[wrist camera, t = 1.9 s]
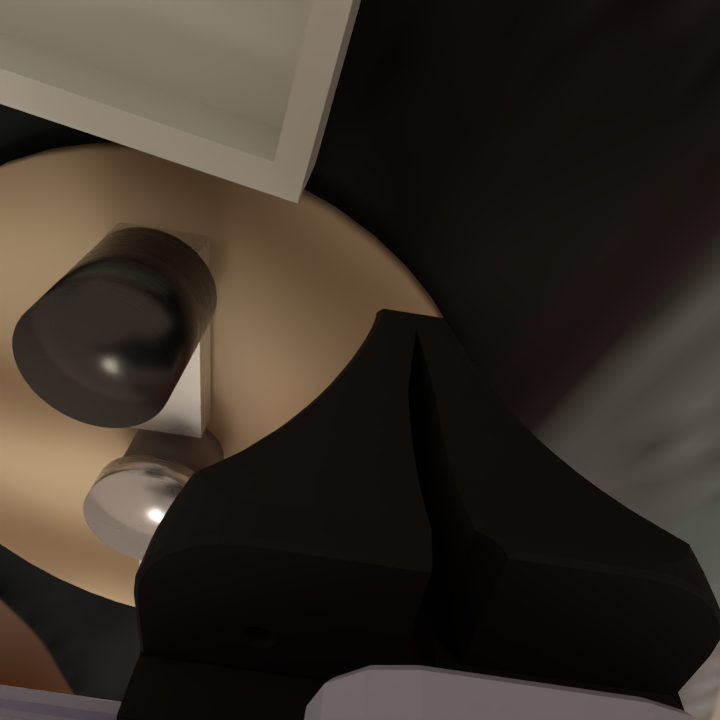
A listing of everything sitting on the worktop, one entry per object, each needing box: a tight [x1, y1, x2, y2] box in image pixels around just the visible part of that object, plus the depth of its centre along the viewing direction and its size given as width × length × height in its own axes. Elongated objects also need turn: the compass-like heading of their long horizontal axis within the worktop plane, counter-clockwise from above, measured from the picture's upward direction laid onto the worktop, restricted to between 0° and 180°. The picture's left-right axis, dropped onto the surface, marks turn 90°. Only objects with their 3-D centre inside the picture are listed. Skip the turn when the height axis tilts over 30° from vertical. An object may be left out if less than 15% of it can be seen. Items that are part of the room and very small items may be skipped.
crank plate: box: [0, 142, 444, 607], centre depth 17 cm, size 17×17×2 cm
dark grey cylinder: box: [12, 222, 217, 566], centre depth 16 cm, size 14×3×4 cm, turn 172°
